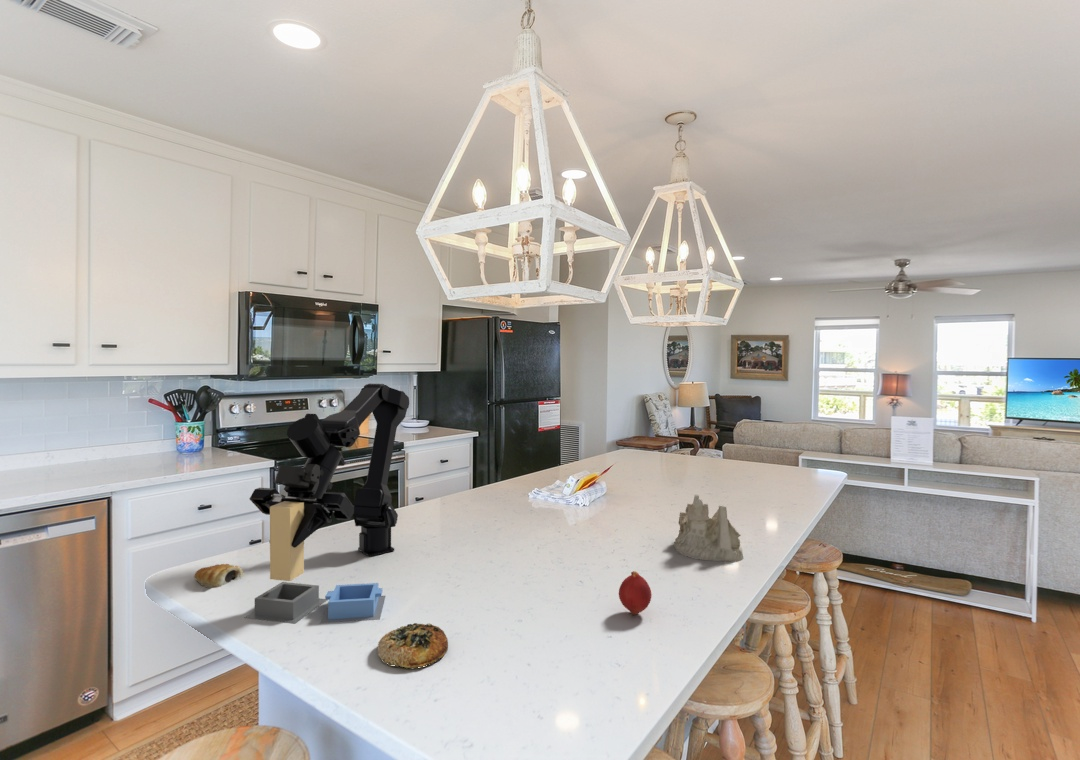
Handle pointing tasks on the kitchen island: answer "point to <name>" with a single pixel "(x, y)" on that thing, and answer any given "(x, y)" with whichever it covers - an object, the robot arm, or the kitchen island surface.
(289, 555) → the tall tan pillar
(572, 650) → the kitchen island surface
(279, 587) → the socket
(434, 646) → the bread roll
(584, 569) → the kitchen island surface
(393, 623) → the kitchen island surface
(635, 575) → the onion
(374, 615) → the blue bezel socket
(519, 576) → the kitchen island surface
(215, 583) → the pastry
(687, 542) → the grey sandcastle model
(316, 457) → the robot arm
